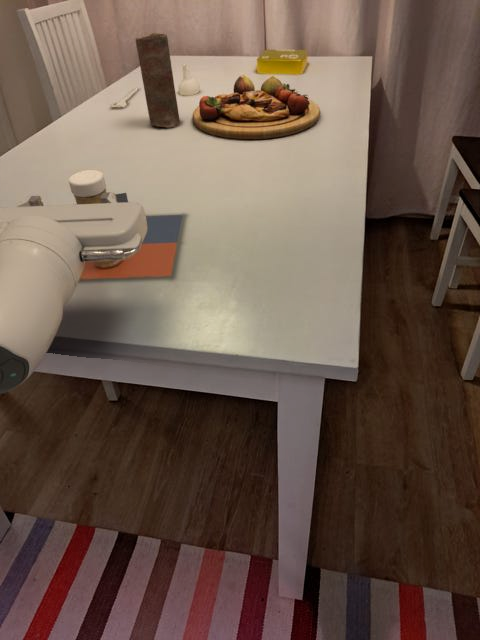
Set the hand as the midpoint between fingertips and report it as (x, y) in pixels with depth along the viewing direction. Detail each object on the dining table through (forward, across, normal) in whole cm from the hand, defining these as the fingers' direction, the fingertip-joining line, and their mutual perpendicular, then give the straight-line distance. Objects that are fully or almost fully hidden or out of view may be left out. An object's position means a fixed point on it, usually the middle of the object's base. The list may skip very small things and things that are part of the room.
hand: (73, 199), depth 59 cm
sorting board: (+9, -1, +13) cm, 16 cm away
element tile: (+117, -36, +14) cm, 123 cm away
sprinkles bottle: (+4, -1, +12) cm, 13 cm away
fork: (+89, +12, +13) cm, 91 cm away
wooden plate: (+68, -25, +13) cm, 73 cm away
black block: (+14, -1, +12) cm, 19 cm away
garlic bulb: (+93, -6, +13) cm, 94 cm away
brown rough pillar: (+66, -2, +13) cm, 67 cm away
